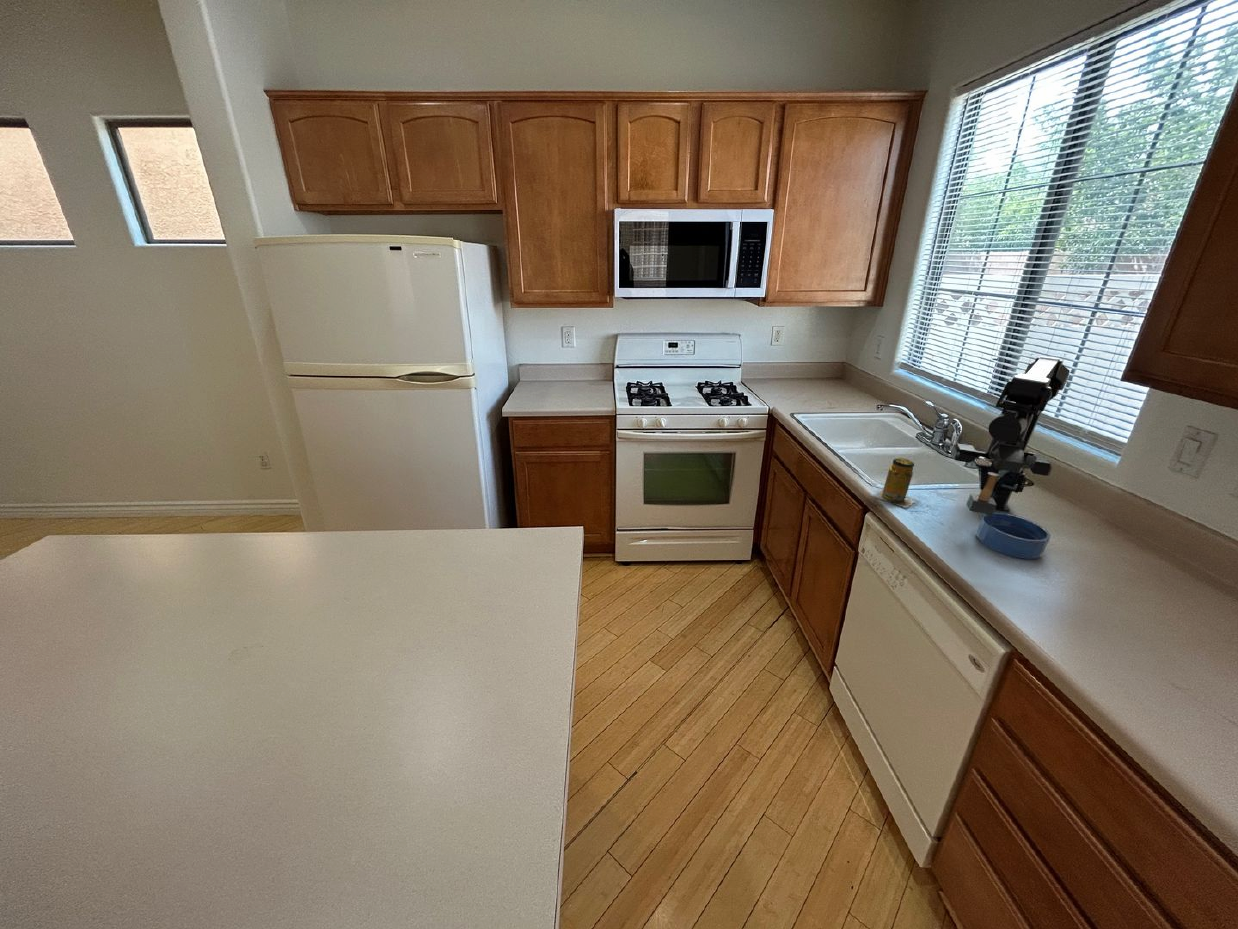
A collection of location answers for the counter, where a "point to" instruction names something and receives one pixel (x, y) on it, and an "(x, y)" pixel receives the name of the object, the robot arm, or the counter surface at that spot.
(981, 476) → the robot arm
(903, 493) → the condiment
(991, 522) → the bowl
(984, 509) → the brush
